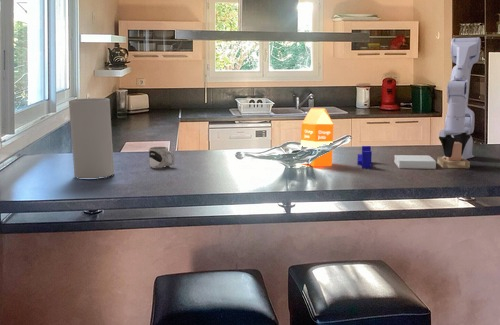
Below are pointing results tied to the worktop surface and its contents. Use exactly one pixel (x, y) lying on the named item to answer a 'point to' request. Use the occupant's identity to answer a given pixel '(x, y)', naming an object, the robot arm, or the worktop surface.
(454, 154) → the block
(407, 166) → the platform
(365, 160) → the cable clip
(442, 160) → the socket
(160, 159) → the mug
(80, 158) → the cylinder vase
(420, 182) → the worktop surface
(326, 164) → the orange juice
